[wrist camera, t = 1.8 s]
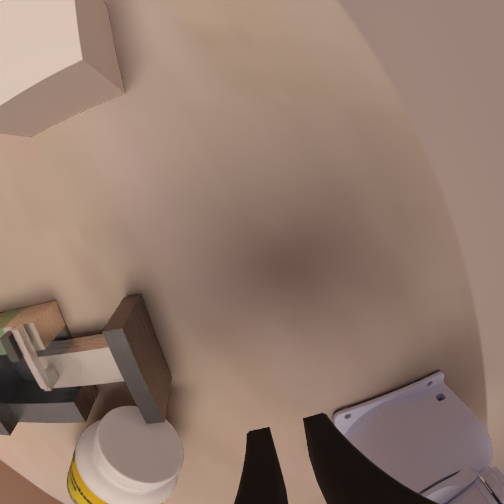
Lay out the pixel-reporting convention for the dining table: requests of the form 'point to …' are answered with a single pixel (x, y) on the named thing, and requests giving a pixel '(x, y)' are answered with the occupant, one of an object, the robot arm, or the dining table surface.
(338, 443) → the robot arm
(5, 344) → the small grey rectangular block
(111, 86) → the white cube
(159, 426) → the pill bottle
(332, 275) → the dining table surface
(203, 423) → the dining table surface
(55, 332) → the gauge housing
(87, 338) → the bar with square endplate
